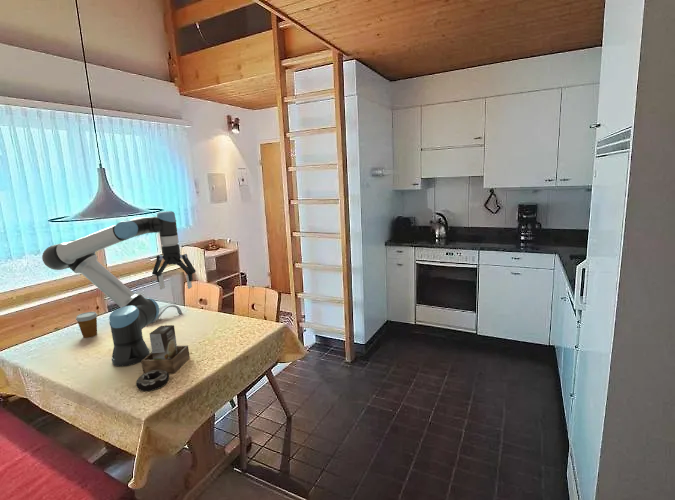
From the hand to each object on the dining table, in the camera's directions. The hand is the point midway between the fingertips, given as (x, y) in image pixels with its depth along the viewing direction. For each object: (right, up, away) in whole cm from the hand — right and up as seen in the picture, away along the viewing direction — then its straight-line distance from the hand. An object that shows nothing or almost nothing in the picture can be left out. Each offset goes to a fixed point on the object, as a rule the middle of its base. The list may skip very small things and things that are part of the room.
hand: (176, 288), depth 175 cm
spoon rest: (-28, -23, +42) cm, 56 cm away
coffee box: (+3, -32, -15) cm, 35 cm away
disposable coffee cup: (-56, -28, +22) cm, 66 cm away
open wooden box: (+3, -32, -15) cm, 36 cm away
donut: (+4, -35, -30) cm, 46 cm away
